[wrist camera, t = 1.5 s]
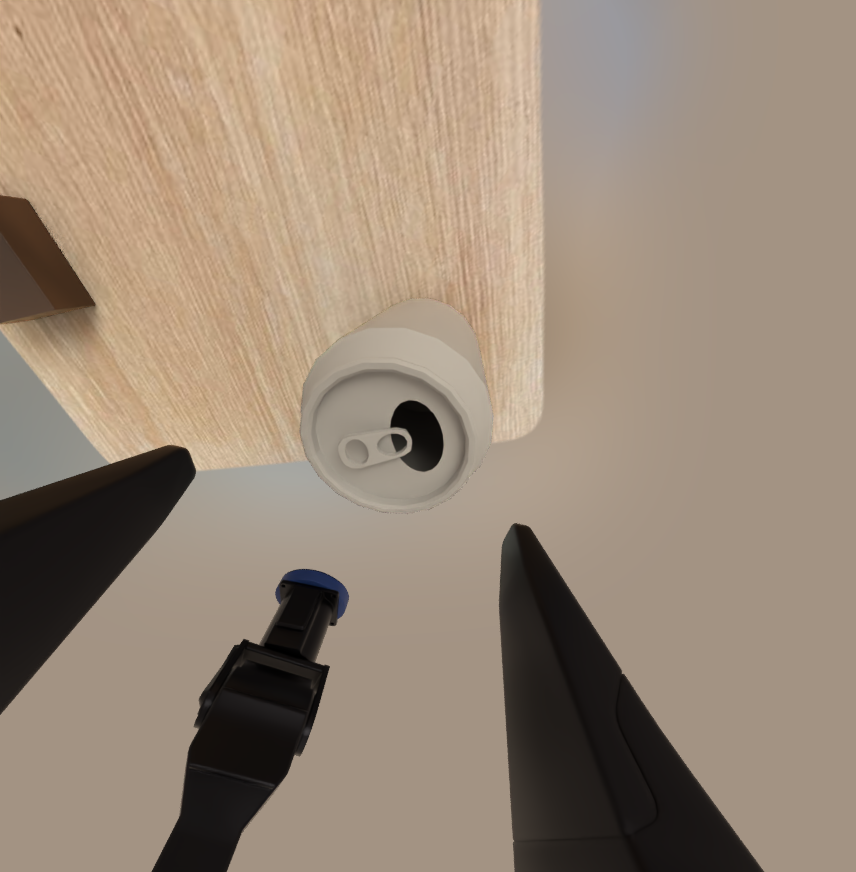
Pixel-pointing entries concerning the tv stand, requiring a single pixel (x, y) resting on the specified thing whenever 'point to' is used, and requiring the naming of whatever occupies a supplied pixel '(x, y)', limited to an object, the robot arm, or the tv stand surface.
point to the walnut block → (33, 268)
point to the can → (399, 409)
